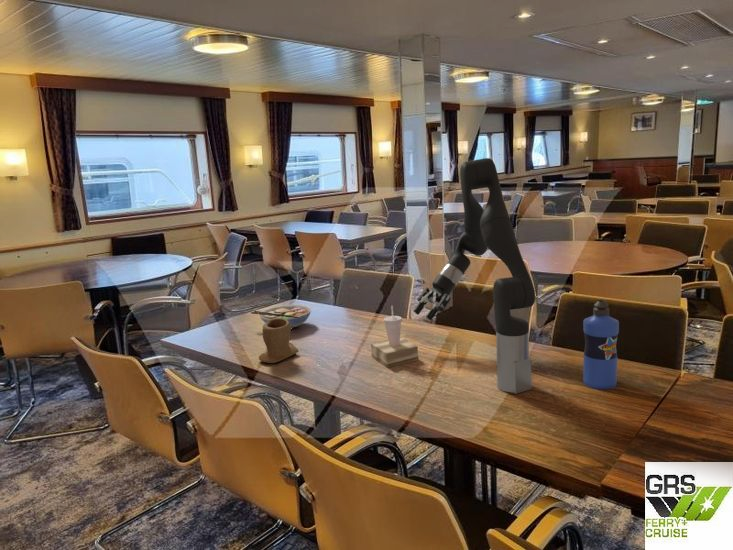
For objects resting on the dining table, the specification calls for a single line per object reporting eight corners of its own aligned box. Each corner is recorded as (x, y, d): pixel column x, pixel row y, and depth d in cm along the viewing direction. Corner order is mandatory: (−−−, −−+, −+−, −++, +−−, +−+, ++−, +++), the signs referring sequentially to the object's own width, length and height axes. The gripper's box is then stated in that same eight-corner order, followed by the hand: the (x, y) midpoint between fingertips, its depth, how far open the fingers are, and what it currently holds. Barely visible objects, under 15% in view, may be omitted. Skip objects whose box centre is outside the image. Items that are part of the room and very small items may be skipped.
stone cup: (276, 368, 188) (271, 327, 185) (254, 362, 196) (249, 322, 193) (307, 354, 200) (303, 315, 196) (285, 349, 207) (281, 311, 204)
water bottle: (575, 380, 161) (576, 300, 156) (600, 374, 164) (601, 295, 159) (599, 392, 152) (600, 307, 147) (624, 385, 156) (627, 302, 150)
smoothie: (403, 341, 191) (401, 303, 188) (403, 347, 185) (400, 308, 182) (385, 342, 192) (383, 304, 189) (384, 348, 186) (382, 309, 183)
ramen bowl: (325, 322, 237) (324, 305, 235) (292, 339, 218) (290, 319, 217) (282, 317, 250) (280, 300, 249) (247, 332, 232) (245, 314, 230)
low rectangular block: (418, 359, 186) (417, 346, 185) (387, 367, 181) (386, 353, 180) (401, 349, 197) (400, 336, 196) (371, 357, 192) (370, 343, 191)
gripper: (430, 270, 198) (405, 305, 196) (452, 276, 185) (425, 314, 183) (443, 282, 201) (418, 317, 199) (465, 288, 189) (439, 326, 186)
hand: (421, 315), depth 191 cm, fingers open, 8 cm apart
